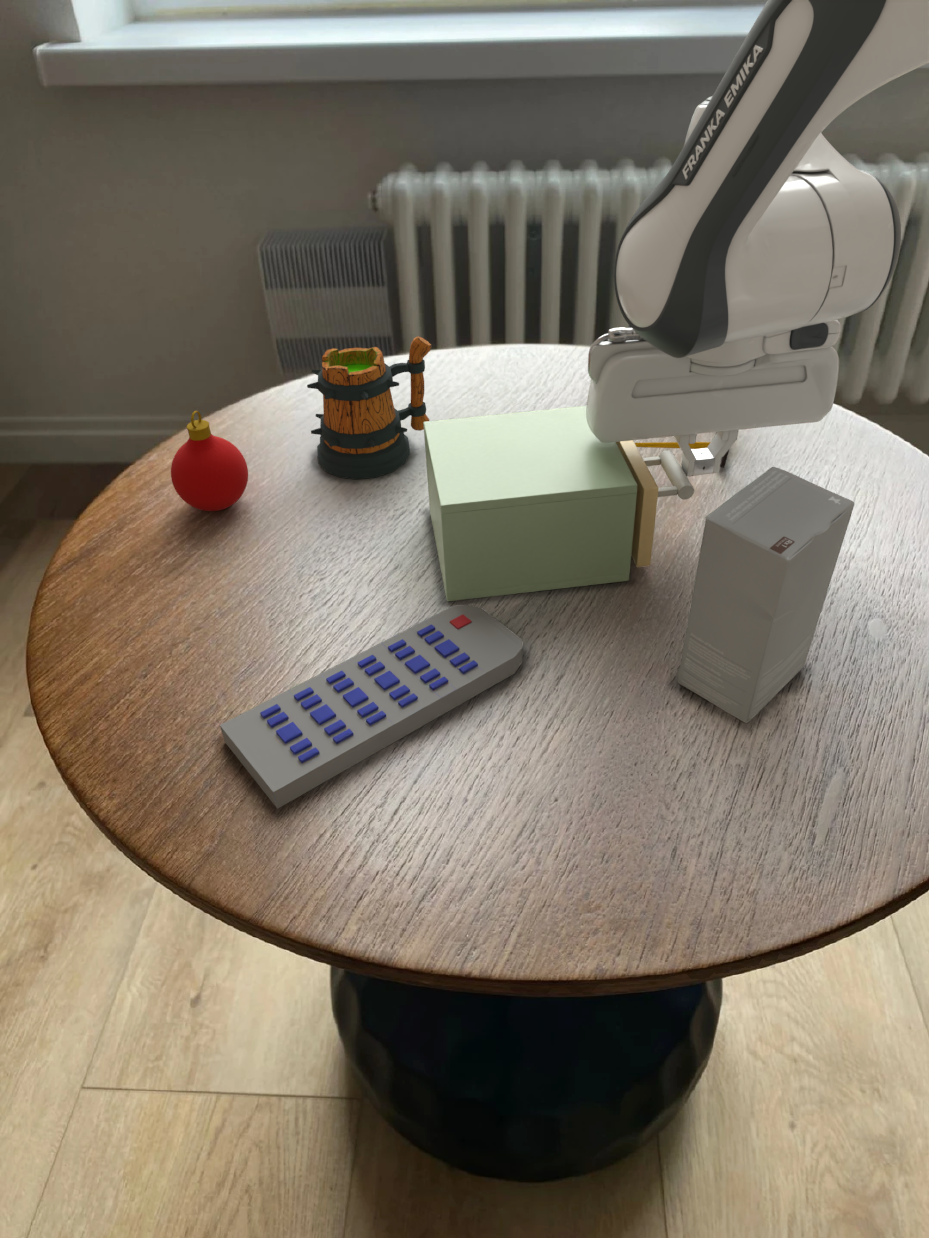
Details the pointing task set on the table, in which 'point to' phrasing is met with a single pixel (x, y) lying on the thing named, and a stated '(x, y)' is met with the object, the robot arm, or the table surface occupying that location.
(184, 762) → the table surface
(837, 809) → the table surface
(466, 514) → the cabinet
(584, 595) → the table surface
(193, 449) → the christmas ornament
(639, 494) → the drawer
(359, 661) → the remote control
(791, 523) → the cosmetic box
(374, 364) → the mug
